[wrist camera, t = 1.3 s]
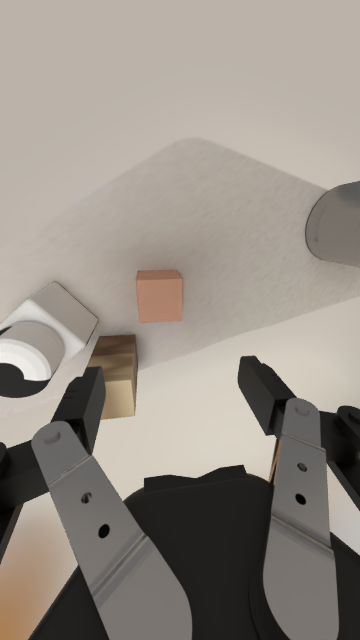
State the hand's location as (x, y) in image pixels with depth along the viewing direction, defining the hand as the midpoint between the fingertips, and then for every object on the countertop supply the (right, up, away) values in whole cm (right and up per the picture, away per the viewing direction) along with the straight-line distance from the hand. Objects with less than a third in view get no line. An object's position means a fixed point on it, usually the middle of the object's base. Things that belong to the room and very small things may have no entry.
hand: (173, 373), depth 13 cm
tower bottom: (-9, -1, +19) cm, 21 cm away
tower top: (-8, -3, +15) cm, 17 cm away
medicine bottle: (-15, +3, +16) cm, 23 cm away
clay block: (-3, +7, +16) cm, 18 cm away
